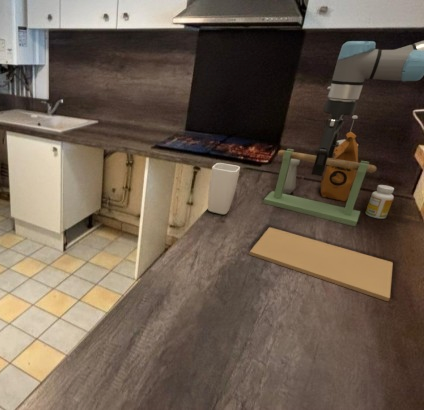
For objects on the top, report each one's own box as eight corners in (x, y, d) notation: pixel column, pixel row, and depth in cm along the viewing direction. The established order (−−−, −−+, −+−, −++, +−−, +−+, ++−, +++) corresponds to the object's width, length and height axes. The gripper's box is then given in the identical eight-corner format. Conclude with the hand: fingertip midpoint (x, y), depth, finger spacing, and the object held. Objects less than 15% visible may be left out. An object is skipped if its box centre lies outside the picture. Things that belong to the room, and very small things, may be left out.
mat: (391, 265, 87) (392, 262, 86) (388, 302, 74) (390, 298, 74) (268, 230, 103) (269, 227, 103) (248, 254, 91) (249, 251, 90)
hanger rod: (375, 172, 104) (377, 165, 103) (374, 174, 103) (377, 166, 102) (278, 155, 120) (279, 148, 119) (276, 156, 118) (277, 150, 117)
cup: (203, 212, 114) (210, 167, 108) (209, 204, 119) (217, 162, 113) (226, 218, 110) (236, 172, 104) (232, 210, 116) (241, 166, 110)
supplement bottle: (384, 214, 115) (395, 186, 111) (387, 220, 110) (398, 191, 107) (364, 210, 117) (374, 182, 113) (365, 216, 113) (376, 187, 109)
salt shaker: (277, 187, 135) (285, 154, 130) (294, 190, 133) (303, 157, 127) (275, 192, 131) (284, 158, 125) (293, 195, 128) (302, 161, 123)
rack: (358, 215, 113) (378, 161, 106) (355, 226, 106) (376, 168, 99) (271, 195, 128) (283, 145, 121) (263, 203, 121) (275, 151, 114)
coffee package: (314, 196, 128) (333, 135, 119) (319, 186, 137) (336, 129, 128) (348, 203, 123) (369, 140, 114) (350, 193, 132) (371, 133, 123)
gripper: (333, 95, 114) (314, 159, 123) (319, 102, 97) (298, 176, 105) (361, 97, 110) (340, 163, 119) (352, 105, 92) (328, 182, 101)
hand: (320, 169), depth 112 cm, fingers open, 13 cm apart
